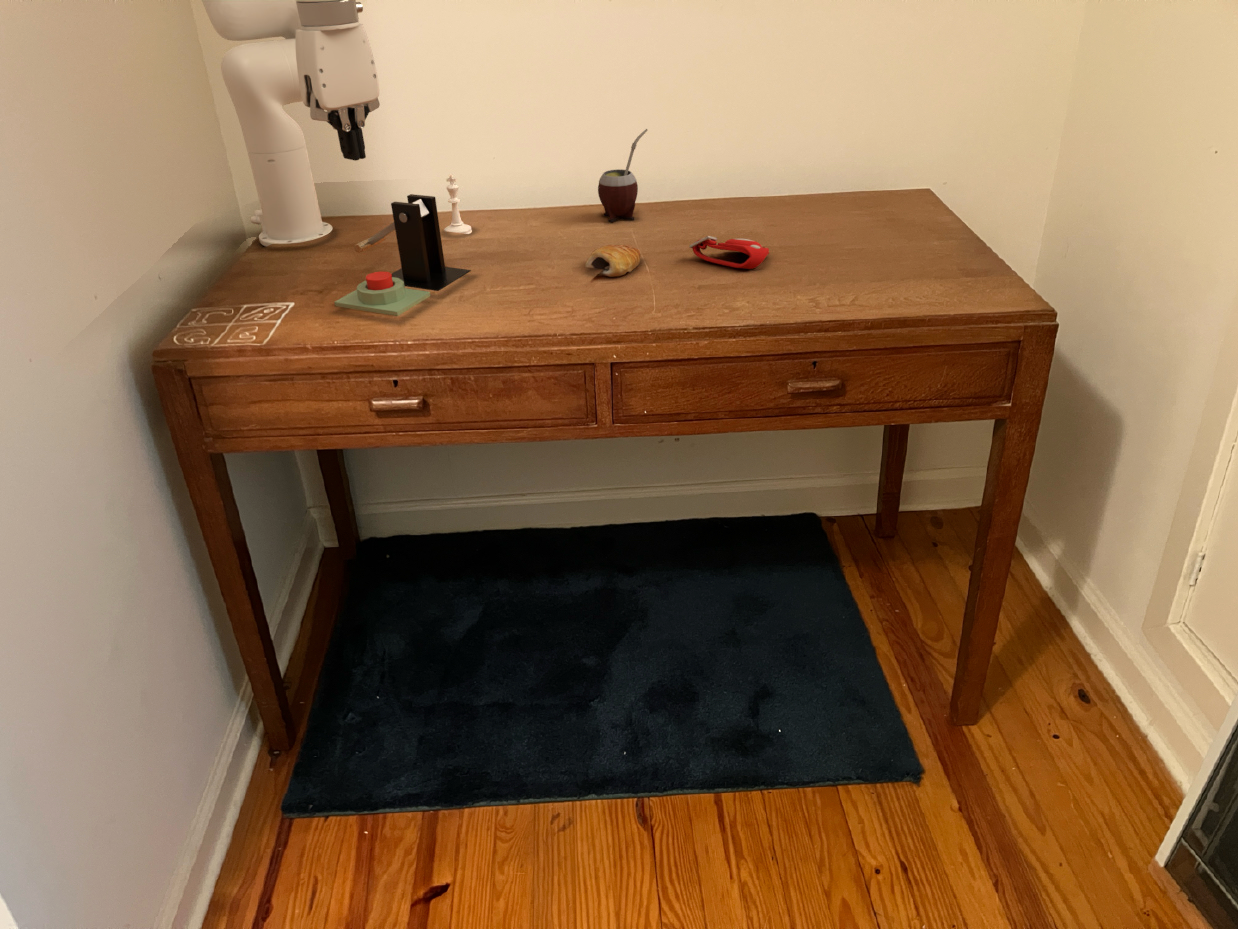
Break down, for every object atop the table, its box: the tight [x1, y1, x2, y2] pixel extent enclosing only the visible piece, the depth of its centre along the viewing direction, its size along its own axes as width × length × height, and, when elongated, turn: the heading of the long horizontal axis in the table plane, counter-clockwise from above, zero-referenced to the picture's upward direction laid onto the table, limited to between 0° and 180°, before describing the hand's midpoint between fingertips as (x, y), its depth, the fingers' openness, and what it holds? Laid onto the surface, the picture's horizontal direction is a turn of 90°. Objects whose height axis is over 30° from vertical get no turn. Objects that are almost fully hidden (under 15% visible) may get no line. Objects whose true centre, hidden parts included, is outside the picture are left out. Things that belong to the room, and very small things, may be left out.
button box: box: [333, 277, 431, 317], centre depth 132 cm, size 11×8×4 cm
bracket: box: [390, 193, 472, 292], centre depth 137 cm, size 11×9×13 cm
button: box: [365, 271, 393, 290], centre depth 130 cm, size 4×4×2 cm
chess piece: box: [443, 174, 473, 235], centre depth 159 cm, size 5×5×10 cm
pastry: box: [584, 244, 641, 278], centre depth 142 cm, size 9×7×4 cm
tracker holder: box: [688, 235, 770, 270], centre depth 143 cm, size 12×4×10 cm
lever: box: [353, 199, 429, 254], centre depth 138 cm, size 13×6×2 cm, turn 65°
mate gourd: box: [597, 128, 648, 224], centre depth 162 cm, size 8×8×15 cm
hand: (354, 157), depth 130 cm, fingers closed
